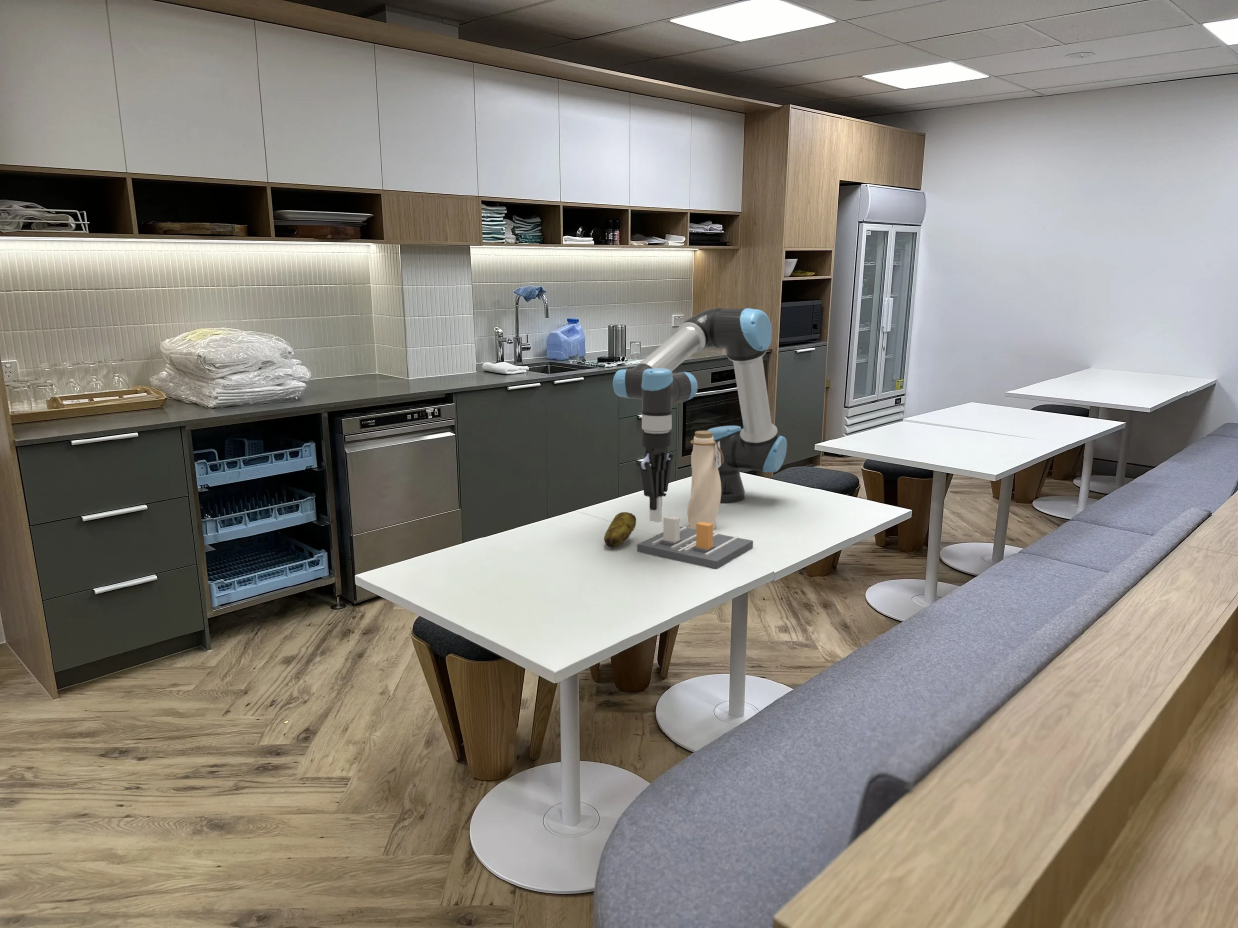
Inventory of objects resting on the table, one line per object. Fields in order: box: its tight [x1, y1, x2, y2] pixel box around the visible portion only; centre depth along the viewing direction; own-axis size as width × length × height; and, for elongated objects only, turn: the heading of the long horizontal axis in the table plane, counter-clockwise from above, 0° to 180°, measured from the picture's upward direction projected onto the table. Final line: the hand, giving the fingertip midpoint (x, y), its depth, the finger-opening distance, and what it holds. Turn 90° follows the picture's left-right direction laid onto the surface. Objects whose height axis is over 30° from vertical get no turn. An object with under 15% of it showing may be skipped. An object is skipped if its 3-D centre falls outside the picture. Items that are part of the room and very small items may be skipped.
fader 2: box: [694, 522, 715, 553], centre depth 223 cm, size 4×4×7 cm
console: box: [636, 526, 754, 570], centre depth 230 cm, size 20×24×3 cm
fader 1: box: [661, 515, 682, 546], centre depth 228 cm, size 4×4×7 cm
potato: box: [603, 511, 637, 549], centre depth 235 cm, size 8×13×8 cm, turn 138°
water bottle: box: [686, 430, 724, 530], centre depth 247 cm, size 10×9×28 cm
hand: (655, 521), depth 221 cm, fingers closed
